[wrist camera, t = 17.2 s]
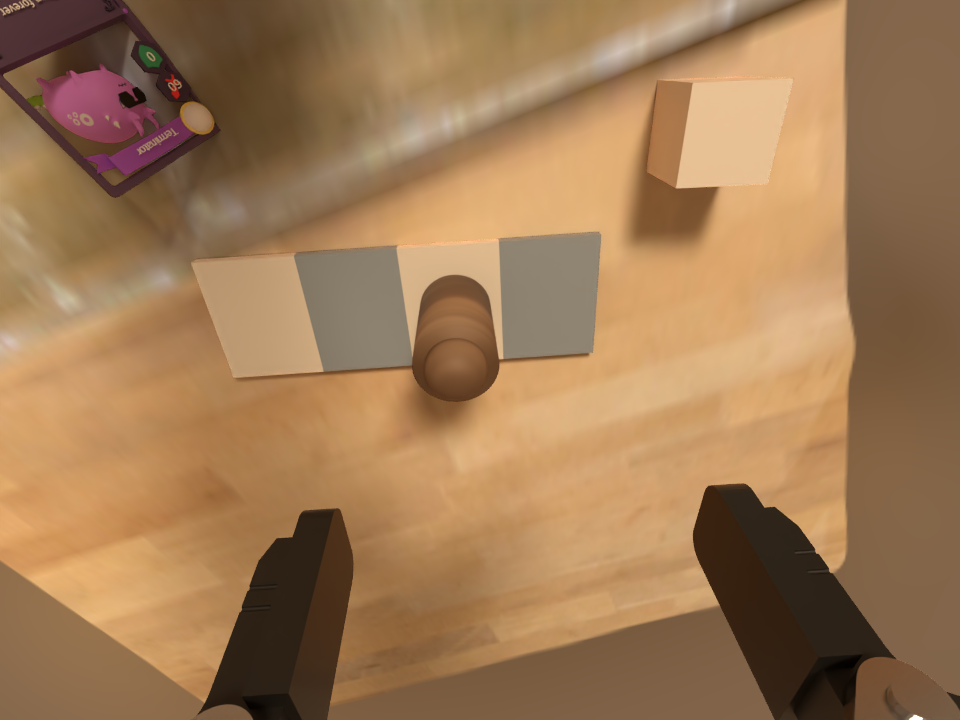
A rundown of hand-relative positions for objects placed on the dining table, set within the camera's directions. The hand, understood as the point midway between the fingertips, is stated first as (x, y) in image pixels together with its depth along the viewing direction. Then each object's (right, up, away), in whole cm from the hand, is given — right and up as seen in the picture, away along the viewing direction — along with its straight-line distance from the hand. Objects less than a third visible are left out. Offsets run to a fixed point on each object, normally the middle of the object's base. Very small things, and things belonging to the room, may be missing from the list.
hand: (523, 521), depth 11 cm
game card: (-22, +20, +10) cm, 31 cm away
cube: (+11, +16, +16) cm, 25 cm away
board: (-6, +7, +21) cm, 22 cm away
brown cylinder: (-3, +7, +20) cm, 21 cm away
